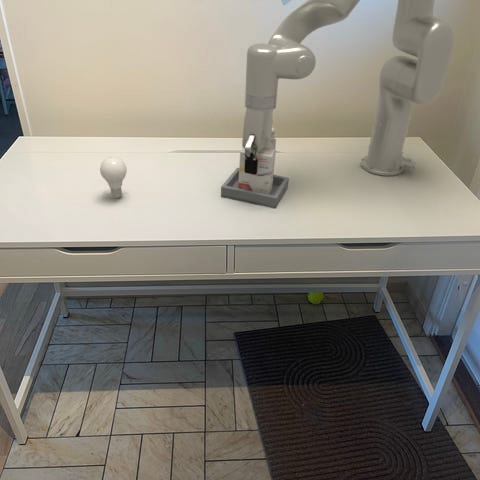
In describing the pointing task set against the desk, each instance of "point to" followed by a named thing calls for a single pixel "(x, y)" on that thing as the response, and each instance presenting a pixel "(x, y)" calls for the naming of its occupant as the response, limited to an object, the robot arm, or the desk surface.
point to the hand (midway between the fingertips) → (256, 165)
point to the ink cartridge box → (259, 169)
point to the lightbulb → (114, 174)
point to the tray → (272, 200)
